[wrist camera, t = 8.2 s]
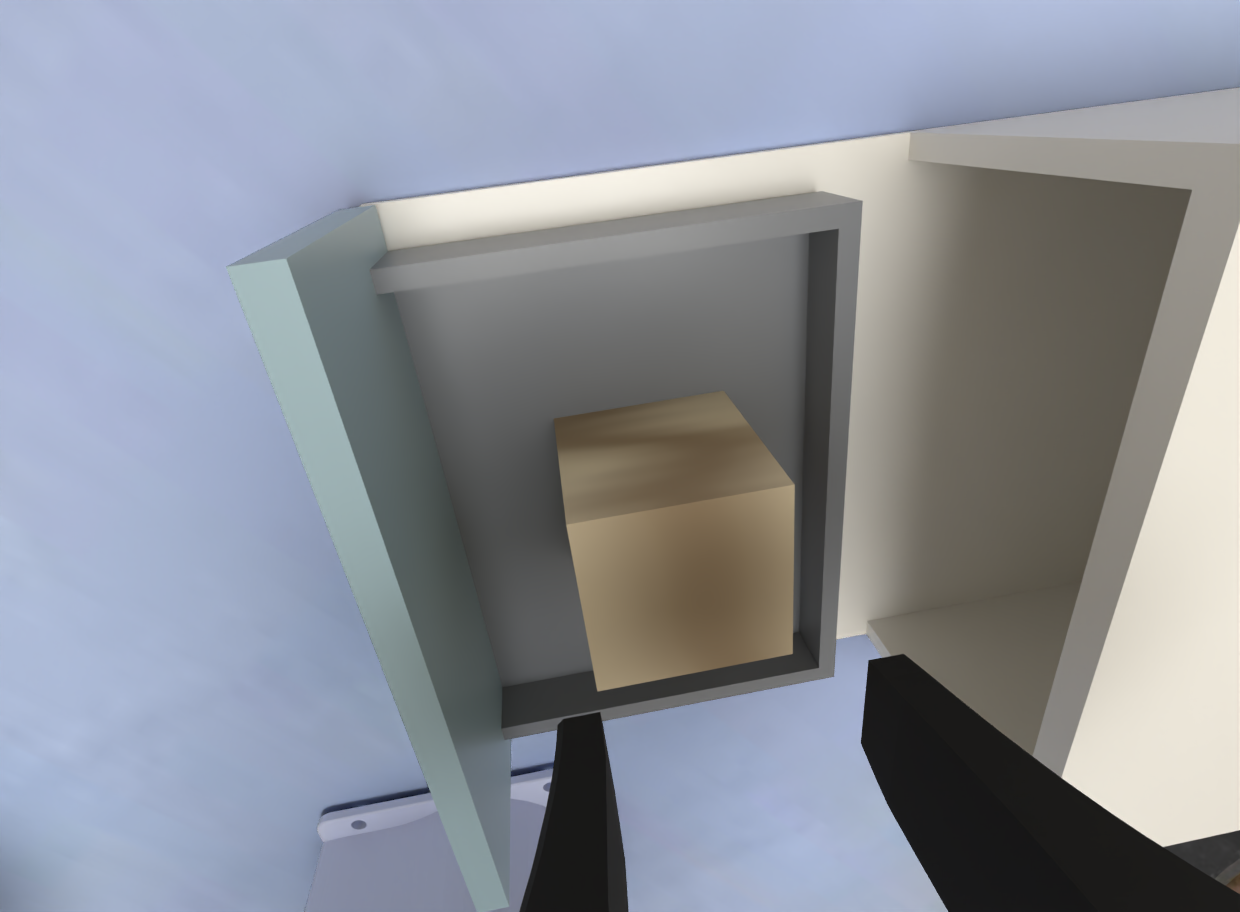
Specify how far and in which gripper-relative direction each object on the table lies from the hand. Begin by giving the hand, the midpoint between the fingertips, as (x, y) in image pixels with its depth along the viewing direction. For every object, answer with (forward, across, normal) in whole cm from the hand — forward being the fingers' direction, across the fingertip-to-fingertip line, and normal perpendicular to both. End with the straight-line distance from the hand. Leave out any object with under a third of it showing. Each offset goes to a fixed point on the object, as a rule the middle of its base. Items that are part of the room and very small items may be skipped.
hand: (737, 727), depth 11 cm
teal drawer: (+9, 0, 0) cm, 9 cm away
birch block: (+8, 0, 0) cm, 8 cm away
